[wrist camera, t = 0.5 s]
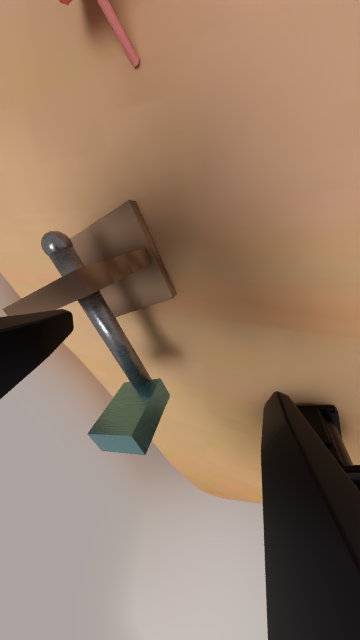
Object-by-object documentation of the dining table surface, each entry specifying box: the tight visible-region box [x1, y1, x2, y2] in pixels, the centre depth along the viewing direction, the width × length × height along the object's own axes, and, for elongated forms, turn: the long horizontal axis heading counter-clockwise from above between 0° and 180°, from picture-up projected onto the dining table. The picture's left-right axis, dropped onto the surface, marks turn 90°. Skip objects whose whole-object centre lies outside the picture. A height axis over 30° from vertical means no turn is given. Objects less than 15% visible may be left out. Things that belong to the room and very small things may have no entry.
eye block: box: [3, 200, 176, 317], centre depth 17 cm, size 10×10×10 cm
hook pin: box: [41, 231, 170, 455], centre depth 16 cm, size 18×5×7 cm, turn 24°
